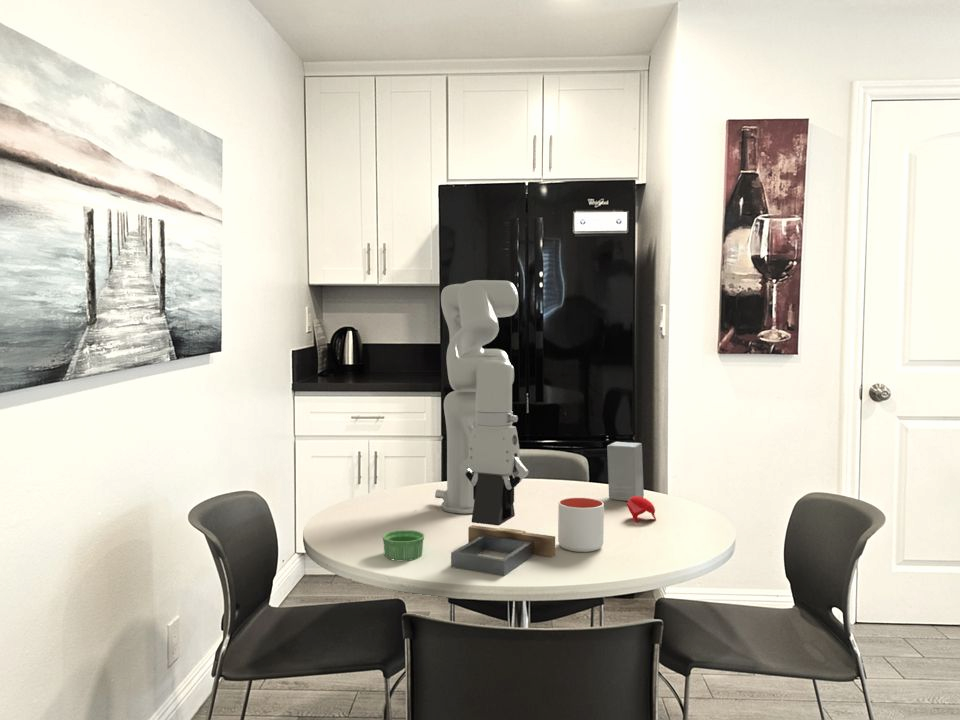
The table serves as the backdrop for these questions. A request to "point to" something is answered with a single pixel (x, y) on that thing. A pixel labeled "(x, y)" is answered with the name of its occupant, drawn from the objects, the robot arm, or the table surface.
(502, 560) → the frame
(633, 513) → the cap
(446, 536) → the table surface
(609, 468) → the skincare box
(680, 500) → the table surface
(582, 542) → the cup
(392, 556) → the ramekin
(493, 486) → the phone stand
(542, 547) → the door edge rail
